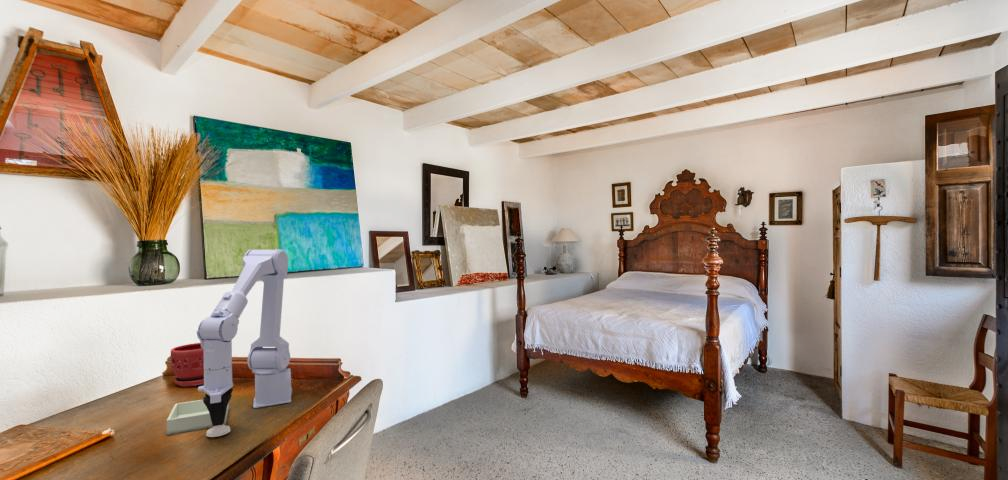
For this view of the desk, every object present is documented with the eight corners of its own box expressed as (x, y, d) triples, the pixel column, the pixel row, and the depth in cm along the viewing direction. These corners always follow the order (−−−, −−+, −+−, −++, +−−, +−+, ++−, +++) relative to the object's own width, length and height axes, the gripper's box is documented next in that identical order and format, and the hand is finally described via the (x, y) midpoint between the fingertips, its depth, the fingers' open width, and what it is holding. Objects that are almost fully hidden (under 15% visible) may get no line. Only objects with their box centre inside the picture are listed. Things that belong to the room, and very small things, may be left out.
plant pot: (229, 376, 151) (228, 341, 151) (197, 390, 138) (197, 351, 138) (194, 374, 152) (194, 340, 152) (160, 388, 139) (159, 350, 139)
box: (228, 408, 123) (228, 395, 123) (225, 425, 112) (225, 410, 112) (175, 417, 117) (175, 403, 117) (166, 435, 107) (166, 420, 106)
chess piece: (218, 437, 104) (219, 395, 104) (201, 436, 105) (201, 393, 105) (235, 429, 109) (235, 388, 109) (218, 427, 110) (218, 387, 110)
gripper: (201, 361, 111) (202, 415, 111) (193, 378, 98) (194, 438, 99) (234, 357, 114) (235, 409, 115) (231, 373, 102) (231, 431, 102)
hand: (218, 422), depth 107 cm, fingers closed on chess piece
